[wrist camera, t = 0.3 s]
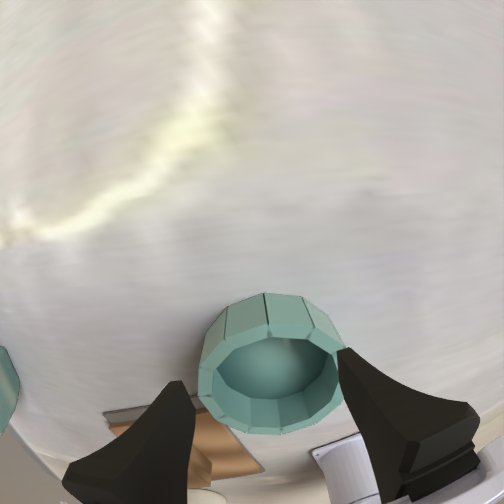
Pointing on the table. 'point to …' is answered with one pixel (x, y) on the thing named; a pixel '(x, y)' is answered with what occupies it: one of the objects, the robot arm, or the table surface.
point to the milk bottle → (204, 497)
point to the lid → (210, 451)
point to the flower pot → (7, 389)
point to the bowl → (270, 365)
